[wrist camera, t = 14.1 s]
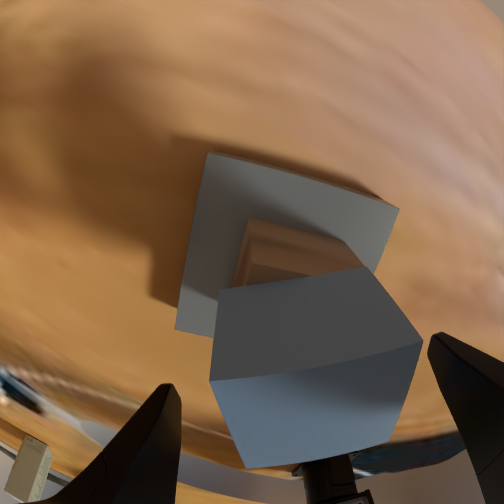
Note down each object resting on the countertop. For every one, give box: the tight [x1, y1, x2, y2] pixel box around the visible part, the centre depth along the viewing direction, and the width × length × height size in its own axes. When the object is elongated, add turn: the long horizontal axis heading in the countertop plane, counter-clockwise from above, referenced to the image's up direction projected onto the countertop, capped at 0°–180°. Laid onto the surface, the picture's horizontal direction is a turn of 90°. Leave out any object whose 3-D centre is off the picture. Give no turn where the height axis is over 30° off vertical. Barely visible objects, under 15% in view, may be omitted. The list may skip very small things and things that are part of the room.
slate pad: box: [175, 150, 399, 338], centre depth 16 cm, size 10×10×2 cm
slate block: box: [209, 266, 423, 469], centre depth 9 cm, size 5×5×4 cm
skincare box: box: [4, 434, 53, 503], centre depth 23 cm, size 6×4×12 cm
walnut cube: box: [230, 217, 365, 288], centre depth 13 cm, size 5×5×5 cm
